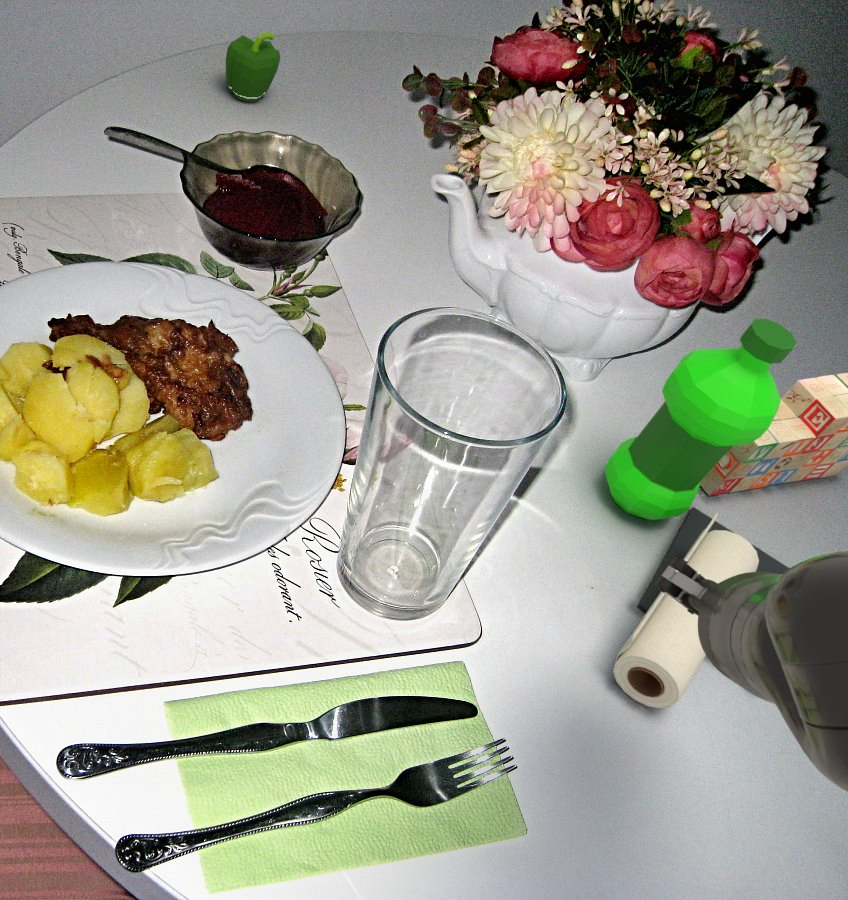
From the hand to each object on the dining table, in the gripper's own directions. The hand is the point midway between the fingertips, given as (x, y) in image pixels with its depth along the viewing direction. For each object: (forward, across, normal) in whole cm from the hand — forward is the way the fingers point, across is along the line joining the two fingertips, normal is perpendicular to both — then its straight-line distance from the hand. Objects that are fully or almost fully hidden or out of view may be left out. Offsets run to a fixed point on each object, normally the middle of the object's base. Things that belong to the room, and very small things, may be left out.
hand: (720, 615), depth 70 cm
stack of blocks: (+43, +1, +19) cm, 47 cm away
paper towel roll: (+10, 0, -8) cm, 13 cm away
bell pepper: (+52, -91, +30) cm, 109 cm away
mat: (+27, +4, +3) cm, 27 cm away
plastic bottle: (+30, -8, +7) cm, 32 cm away
